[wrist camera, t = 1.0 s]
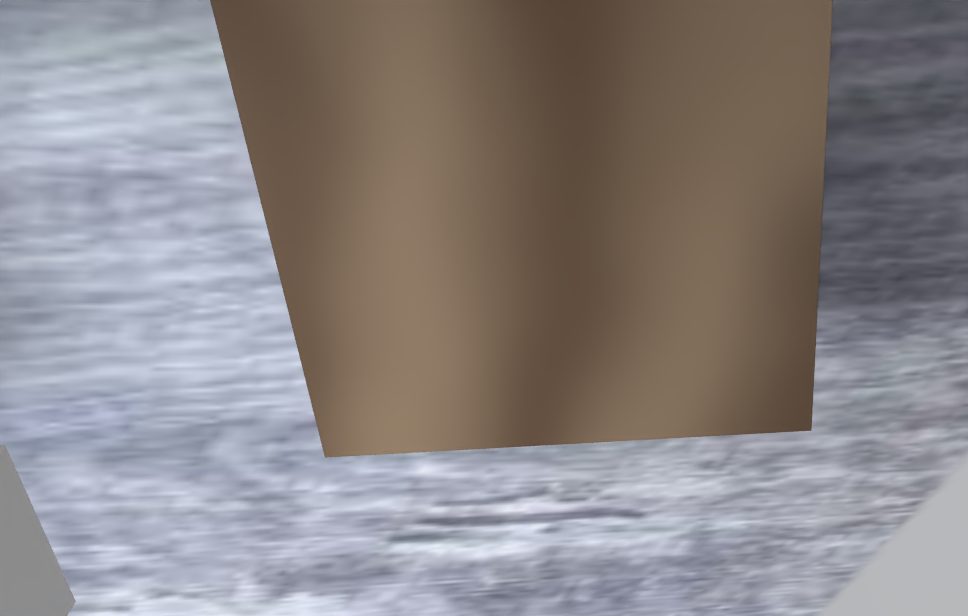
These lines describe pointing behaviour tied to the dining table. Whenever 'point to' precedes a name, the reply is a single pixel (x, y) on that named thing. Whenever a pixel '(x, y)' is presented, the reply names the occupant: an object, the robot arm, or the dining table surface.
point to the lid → (540, 213)
